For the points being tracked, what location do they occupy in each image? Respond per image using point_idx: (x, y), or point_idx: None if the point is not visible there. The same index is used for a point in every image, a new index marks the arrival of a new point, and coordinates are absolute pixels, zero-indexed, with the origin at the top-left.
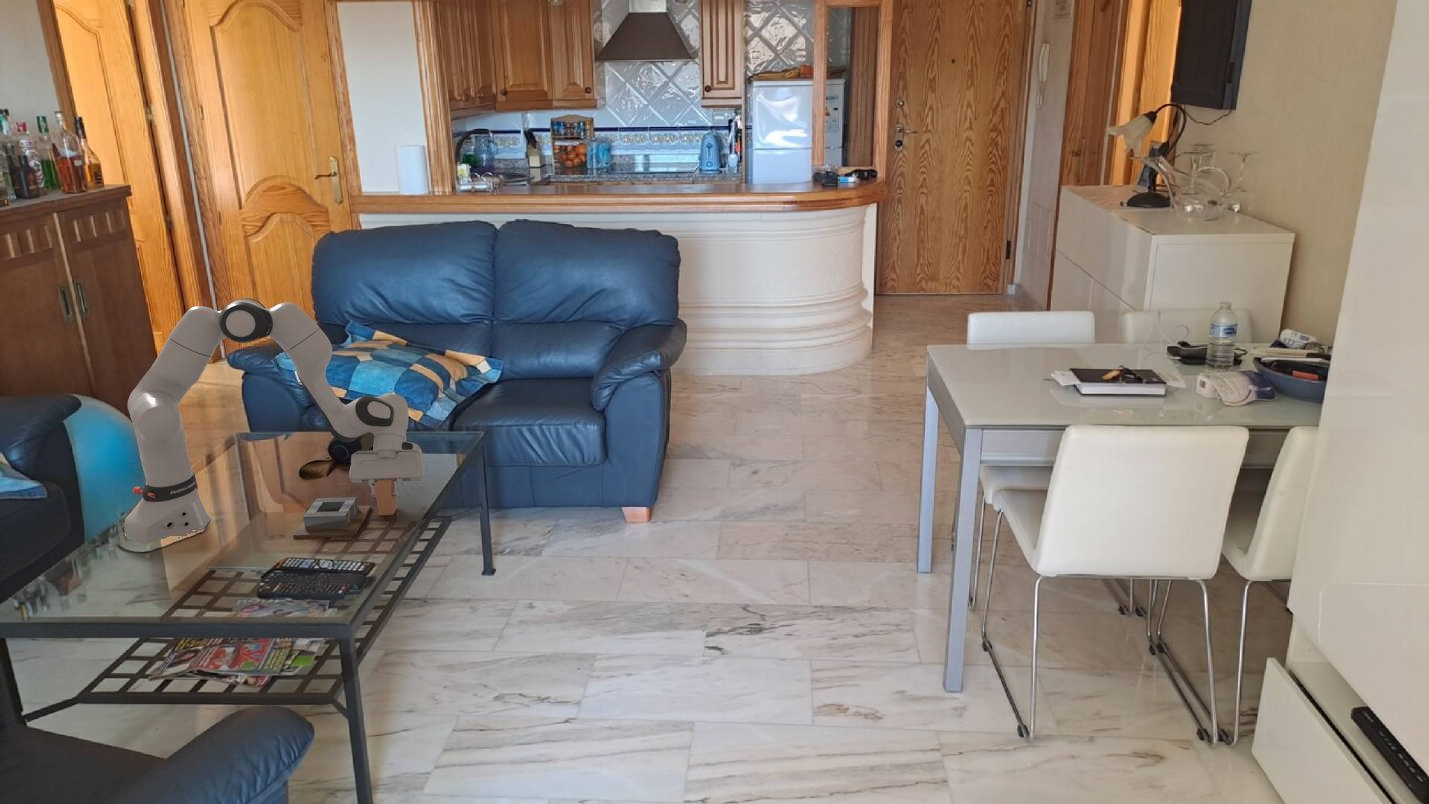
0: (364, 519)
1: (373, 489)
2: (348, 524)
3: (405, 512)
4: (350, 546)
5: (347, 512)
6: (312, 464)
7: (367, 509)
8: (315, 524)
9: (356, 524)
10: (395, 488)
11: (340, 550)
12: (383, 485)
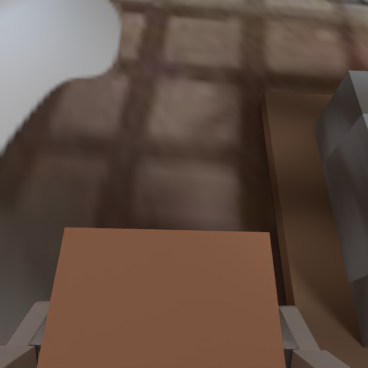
0: (280, 250)
1: (301, 348)
2: (322, 140)
3: None
4: (244, 43)
5: (357, 107)
6: None
7: None
8: None
9: (287, 158)
10: (26, 341)
11: (269, 27)
12: (143, 234)
